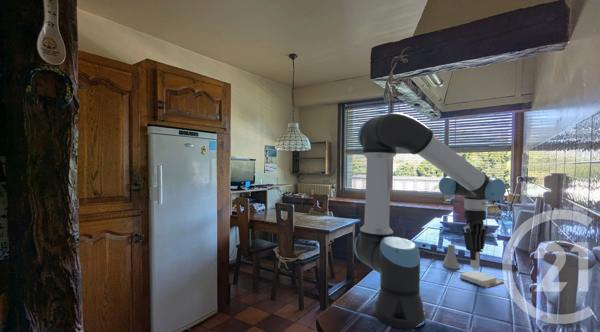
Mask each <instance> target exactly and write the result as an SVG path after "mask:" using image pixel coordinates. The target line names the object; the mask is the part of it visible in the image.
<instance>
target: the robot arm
mask: <svg viewBox="0 0 600 332" xmlns="http://www.w3.org/2000/svg"><path fill="white" fill-rule="evenodd" d="M357 138H358V139H357V140H358V143H359V144H360V146H361V147H362V155H363V156H364V157H365V158H366V168H365V169H366V171H365V172H366V173H365V174H366V175H365V201H364V222H363V223H364V224H363V225H362V226H361V227H360V228H359V233H358V235H357V236H356V237H355V238H354V242H353V252H354V254H355V256H356V257H357V259H358V260H360V262H361V263H362V264H364V265H365V266H367V267H369V268H371V269H372V270H374V271H375V272H377V273H378V274H380V276H379V278H380V283H379V285H380V286H379V287H380V289H379V291H378V295H377V299H376V301H375V304H374V315H375V317H376V318H377V319H378V320H379V321H380V322H381V323H383V324H385V325H387V326H389V327H393V328H396V329H403V330H404V329H405V330H414V329H417V328H416V326H417V325H418V324H420V323H422V322H423V321H425V320H427V318H426V317H427V315H426V310H425V308H424V305H423V301H422V297H421V293H420V290H421V289H420V282H421V278H420V277H421V257H420V256H421V255H420V254H421V253H420V249H419V246H418V245H417V244H416V243H415V242H413V241H412V240H410V239H408V238H402V237H399V236H394V231H393V229H392V228H391V227H390V209H391V207H390V206H391V204H390V203H391V179H392V177H391V175H392V160H393V159H394V157H396V155H397V149H402V150H405V151H407V152H408V153H410V154H411V155H418V156H420V157H421V158H423V159H424V160H425V161H427V162H428V163H429V164H431V165H432V166H434V167H435V168H436V169H438V170H439V171H441V172H442V173H444V174H445V175H446V176H444V177H441V179H440V180H439V182H438V189H439V192H440V193H441V194H442V195H443V196H447V197H456V196H457V197H464V200H463V202H464V203H463V204H464V205H463V207H464V209H463V210H464V211H463V212H464V213H463V214H464V215H463V216H464V219H466V224H465V226H463V227H461V230H462V233H463V238H464V244H465V248H466V249H465V250H466V251H468V252H470V255H469V256H470V257H469V258H470V268H473V269H477V270H479V269H480V259H481V257H480V256H481V255H480V253H483V250H484V248H485V242H486V236H487V235H486V234H487V230H488V227H489V226H488V225H485V224H484V221H486V219H487V211H486V208H487V201H499V200H501V199H503V198H504V196H505V194H506V193H507V186H506V183H505V182H504V180H502V179H501V178H496V177H489V176H487V174H486V172H484V171H481V170H480V169H478V168H477V167H476V166H474V165H473V164H472V163H470V162H469V161H468V160H466V159H465V158H463V157H462V156H461V155H460V154H458V153H457V152H456V151H454V150H453V149H452V148H451V147H449V146H447V145H446V144H445V143H444V142H442V141H441V140H440V139H438V138H437V137H436V136H435V135H434V131H433V130H432V129H431V128H430V127H428V126H427V125H426V124H424V123H422V122H421V121H419V120H417V119H416V118H415V117H412V116H410V115H408V114H405V113H401V112H390V113H387V114H384V115H380V116H376V117H375V116H374V117H372V118H370V119H368V120H366V121H365V122H363V123H362V125H361V126H360V128H359V130H358V134H357Z"/></svg>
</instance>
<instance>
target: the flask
mask: <svg viewBox="0 0 600 332" xmlns="http://www.w3.org/2000/svg"><path fill="white" fill-rule="evenodd" d="M455 248H456V245H454V244H447V253H446V255H445V257H444V260H443V263H442V267H444V268H447V269H450V270H460V269H461V266H460V264H459V262H458V259H457V256H456V255H457V254H456V251H455Z"/></svg>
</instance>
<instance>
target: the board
mask: <svg viewBox="0 0 600 332" xmlns="http://www.w3.org/2000/svg"><path fill="white" fill-rule="evenodd" d="M459 278H460V279H461V280H463V281H464V280H465V281H467V282H470V283H472V284H475V285H478V286H481V285H479V284H476V283H474V282H471V281H468V280H466V279H463V278H461V275H460V276H459ZM501 284H504V281H502V280H500V279H497V278H496V282H494V283H490V284H487V285H483V286H481V287H483V288H485V289H488V288H491V287H494V286H499V285H501Z"/></svg>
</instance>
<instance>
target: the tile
mask: <svg viewBox="0 0 600 332" xmlns="http://www.w3.org/2000/svg"><path fill="white" fill-rule="evenodd" d="M460 276H461V278H463V279H462V280H464V279H466V280H465V281H467V280H468V281H467V282H469V281H471V282H470V283H472V282H474V283H473V284H475V283H476V284H475V285H477V284H479V285H478V286H480V285H481V287H482V286H483V285H487V284H490V283H494V282H496V279H497V277H495V276H492V275H489V274H486V273H483V272H481V271H477V270H471V271H466V272H463V273H460ZM461 278H460V279H461Z"/></svg>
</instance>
